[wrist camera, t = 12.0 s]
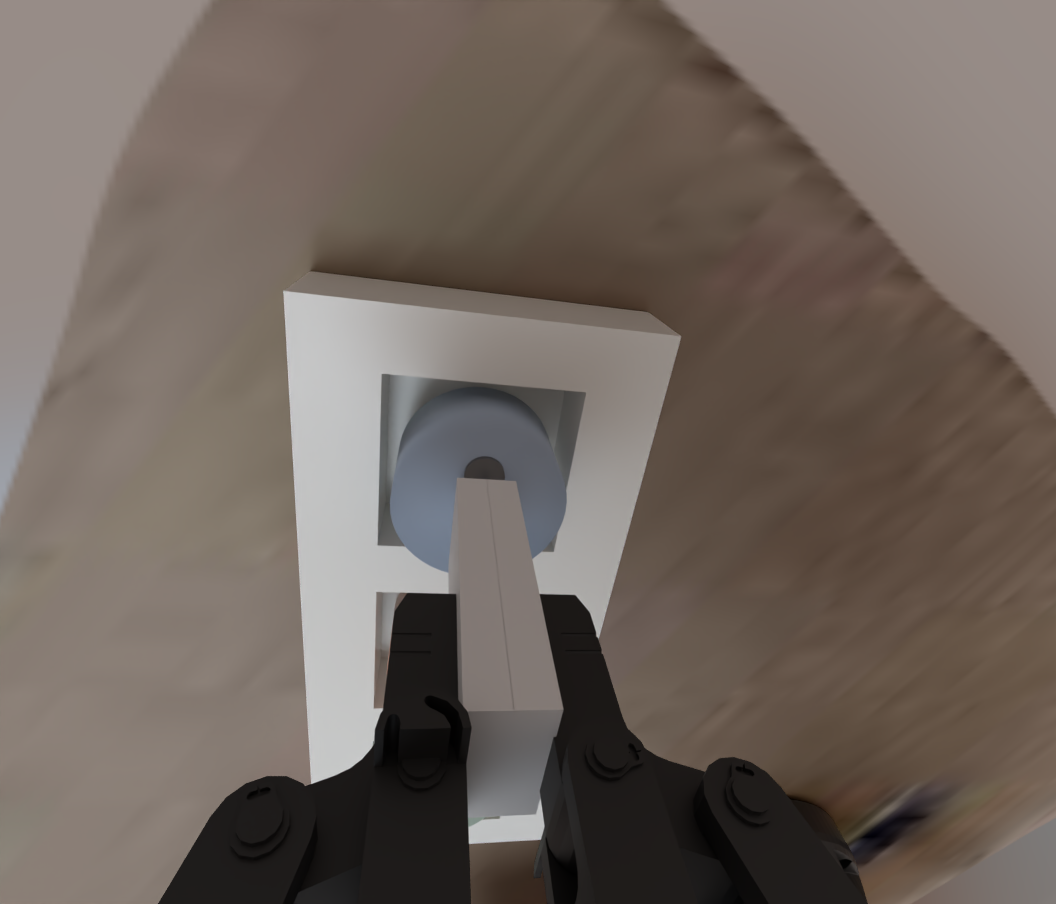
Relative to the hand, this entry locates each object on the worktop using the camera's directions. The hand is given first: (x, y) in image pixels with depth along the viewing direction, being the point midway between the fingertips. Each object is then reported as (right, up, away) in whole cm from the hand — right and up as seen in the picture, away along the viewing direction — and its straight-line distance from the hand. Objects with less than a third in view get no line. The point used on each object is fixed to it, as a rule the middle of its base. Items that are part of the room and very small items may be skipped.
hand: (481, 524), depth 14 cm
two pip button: (-1, +2, +4) cm, 4 cm away
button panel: (-2, -4, +9) cm, 10 cm away
